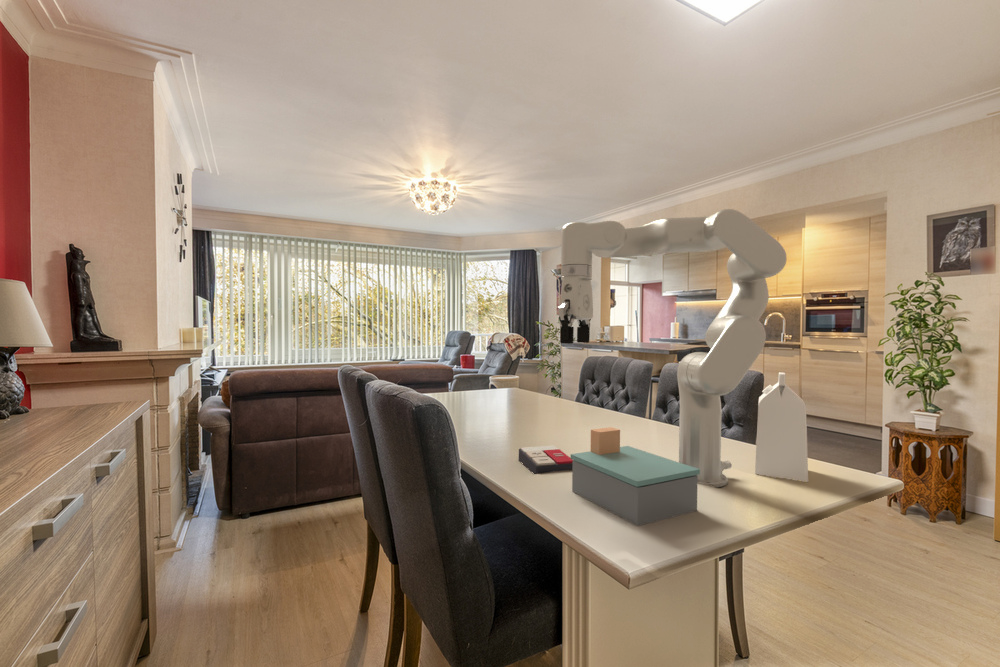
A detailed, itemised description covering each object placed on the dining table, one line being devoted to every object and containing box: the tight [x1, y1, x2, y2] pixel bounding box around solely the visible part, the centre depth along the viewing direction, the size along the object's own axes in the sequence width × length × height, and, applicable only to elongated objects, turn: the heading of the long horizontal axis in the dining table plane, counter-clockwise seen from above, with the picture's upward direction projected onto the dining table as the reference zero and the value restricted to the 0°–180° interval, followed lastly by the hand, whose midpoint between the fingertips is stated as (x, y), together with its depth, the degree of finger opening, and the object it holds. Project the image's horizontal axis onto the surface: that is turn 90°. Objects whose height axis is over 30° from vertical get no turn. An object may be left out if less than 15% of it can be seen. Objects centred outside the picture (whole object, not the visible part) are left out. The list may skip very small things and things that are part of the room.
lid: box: [570, 426, 700, 487], centre depth 98 cm, size 17×20×6 cm
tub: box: [571, 460, 698, 527], centre depth 98 cm, size 16×20×8 cm
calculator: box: [518, 445, 573, 475], centre depth 126 cm, size 11×4×15 cm
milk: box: [754, 371, 809, 483], centre depth 122 cm, size 12×12×26 cm
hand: (575, 342), depth 115 cm, fingers open, 9 cm apart
